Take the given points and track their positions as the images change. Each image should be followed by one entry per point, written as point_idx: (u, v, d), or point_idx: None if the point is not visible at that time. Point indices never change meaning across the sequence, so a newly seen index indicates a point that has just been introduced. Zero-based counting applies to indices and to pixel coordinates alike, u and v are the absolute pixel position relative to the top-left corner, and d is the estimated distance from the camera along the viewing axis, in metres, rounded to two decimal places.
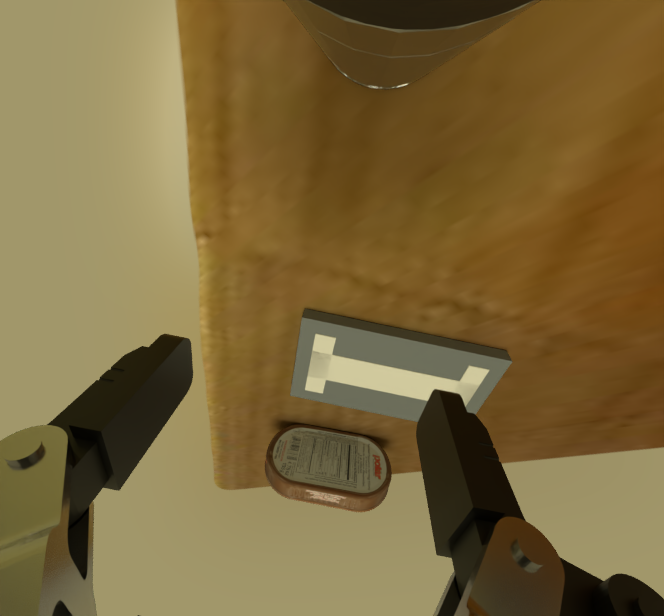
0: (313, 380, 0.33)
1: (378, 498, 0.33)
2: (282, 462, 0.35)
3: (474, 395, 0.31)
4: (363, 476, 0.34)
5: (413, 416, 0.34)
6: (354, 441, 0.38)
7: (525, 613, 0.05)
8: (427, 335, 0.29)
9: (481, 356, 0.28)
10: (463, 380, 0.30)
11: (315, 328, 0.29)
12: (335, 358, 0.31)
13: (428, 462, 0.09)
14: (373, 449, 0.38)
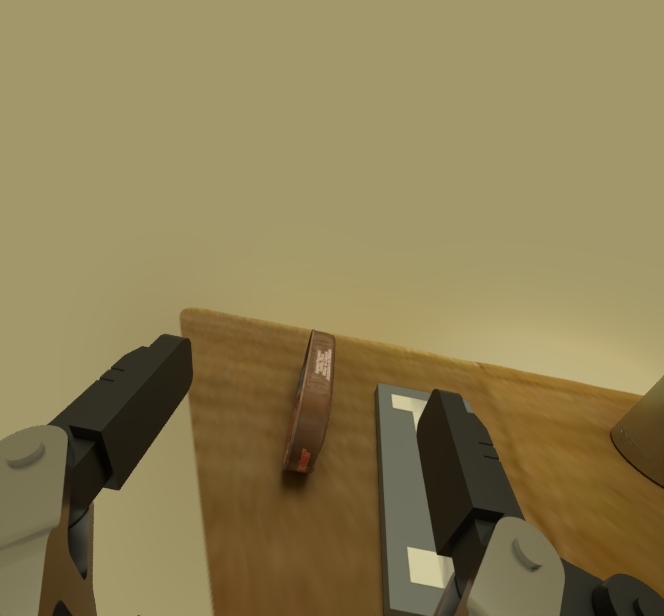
0: (405, 401, 0.34)
1: (318, 420, 0.23)
2: None
3: None
4: None
5: (393, 508, 0.24)
6: None
7: (525, 613, 0.05)
8: None
9: None
10: None
11: None
12: None
13: (428, 462, 0.09)
14: None
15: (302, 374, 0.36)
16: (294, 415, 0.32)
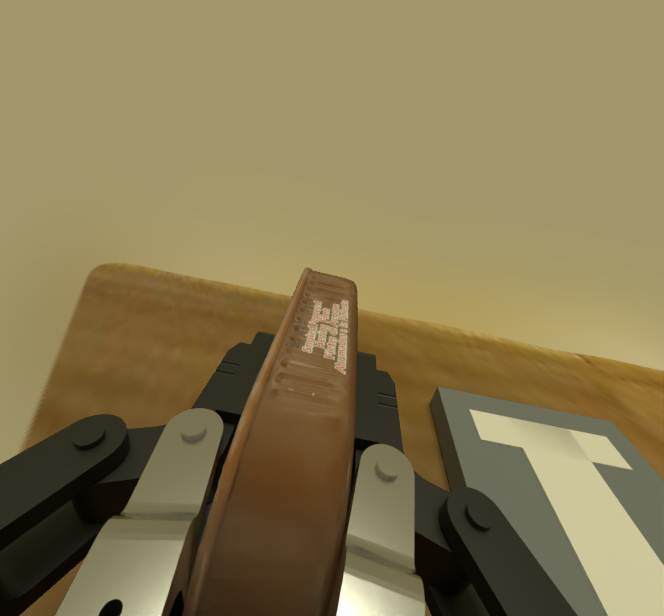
0: (499, 425, 0.17)
1: (303, 536, 0.06)
2: None
3: None
4: None
5: None
6: None
7: (391, 520, 0.06)
8: None
9: None
10: None
11: (613, 438, 0.18)
12: (586, 468, 0.15)
13: None
14: None
15: None
16: None
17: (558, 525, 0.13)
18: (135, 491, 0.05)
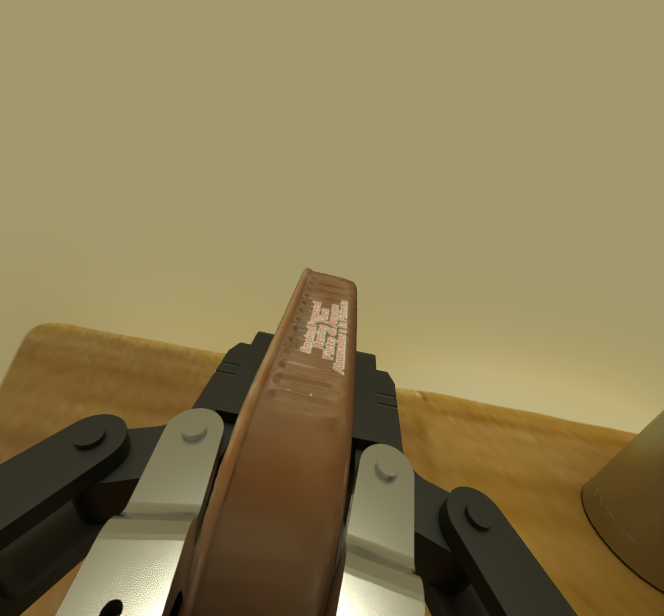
0: None
1: (299, 537, 0.05)
2: None
3: None
4: None
5: None
6: None
7: (391, 520, 0.06)
8: None
9: None
10: None
11: None
12: None
13: None
14: None
15: None
16: None
17: None
18: (135, 491, 0.05)
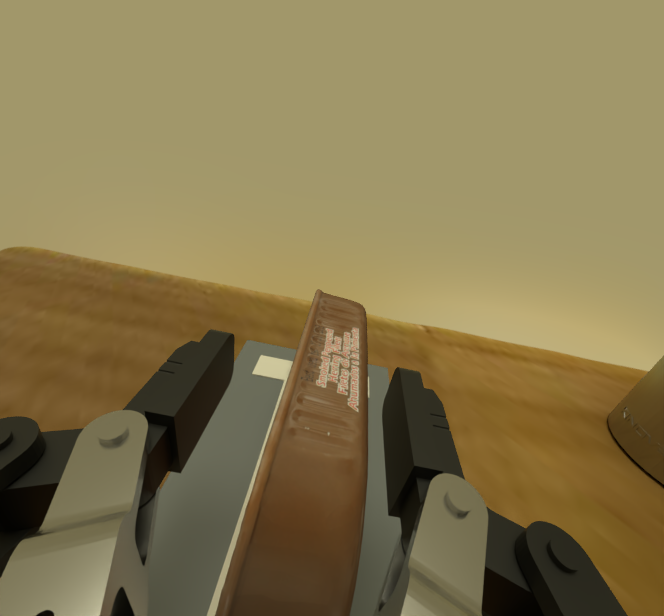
0: (279, 366, 0.22)
1: (319, 581, 0.06)
2: None
3: None
4: None
5: None
6: None
7: (458, 557, 0.05)
8: None
9: None
10: None
11: (376, 378, 0.22)
12: None
13: (388, 435, 0.10)
14: None
15: None
16: None
17: (267, 424, 0.17)
18: (51, 507, 0.05)
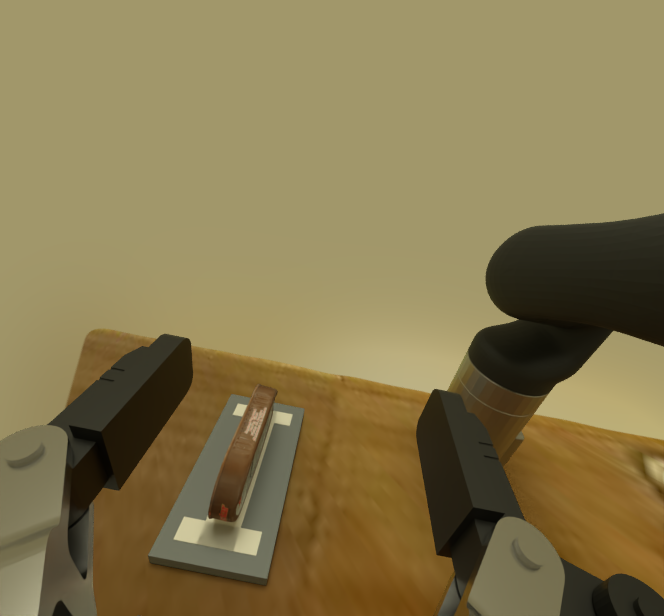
0: None
1: (236, 480, 0.27)
2: None
3: (216, 551, 0.29)
4: None
5: (189, 490, 0.33)
6: (247, 485, 0.33)
7: (525, 613, 0.05)
8: None
9: (273, 542, 0.30)
10: (242, 531, 0.30)
11: (296, 415, 0.44)
12: (270, 424, 0.42)
13: (428, 462, 0.09)
14: (240, 505, 0.31)
15: None
16: None
17: None
18: None
